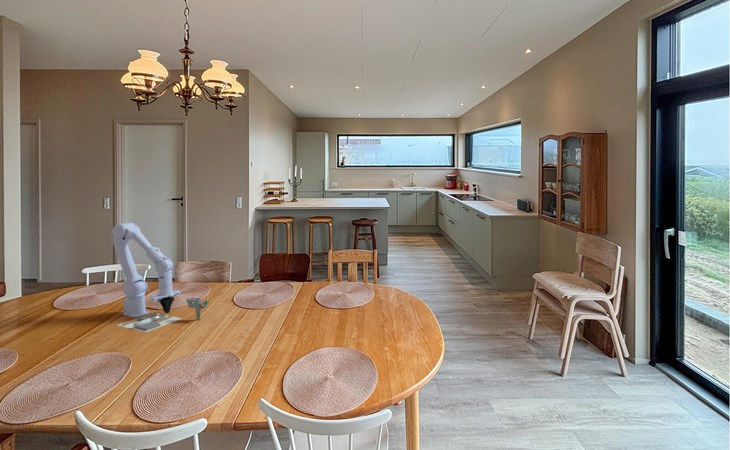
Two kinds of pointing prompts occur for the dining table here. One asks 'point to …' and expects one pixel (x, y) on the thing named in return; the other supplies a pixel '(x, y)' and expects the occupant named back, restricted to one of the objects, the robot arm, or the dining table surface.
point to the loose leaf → (153, 317)
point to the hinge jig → (148, 323)
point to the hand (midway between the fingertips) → (166, 312)
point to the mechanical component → (197, 305)
